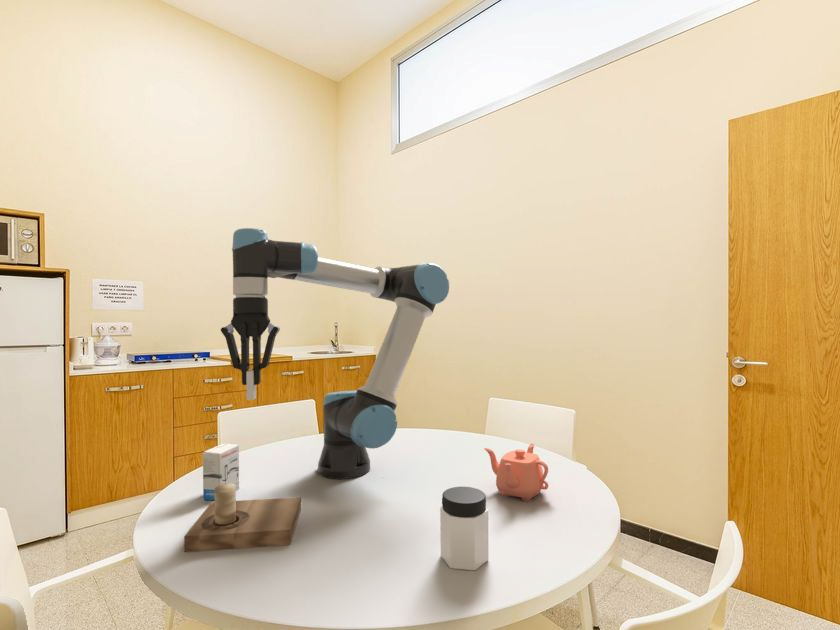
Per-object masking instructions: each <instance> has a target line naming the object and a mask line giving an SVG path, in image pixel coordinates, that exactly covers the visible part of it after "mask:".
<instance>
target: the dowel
mask: <svg viewBox="0 0 840 630" xmlns="http://www.w3.org/2000/svg"><path fill="white" fill-rule="evenodd" d="M236 491H237V490H236V485H235V484H231V483H228V484H222V485H219V486H217V487H215V500H214V502H215V526H227V525H231V524H234V523H235V522H236V501H237V497H236V496H237V495H236V494H237V493H236Z"/></svg>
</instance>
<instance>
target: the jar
mask: <svg viewBox="0 0 840 630" xmlns="http://www.w3.org/2000/svg"><path fill="white" fill-rule="evenodd" d="M486 496H487V495H486V493H485V492H484V491H482V490H480V489H479V488H476V487H472V486H455V487H450V488H447V489H446V490H444V491H443V492H442V496H441V497H442V498H441V504H442V505H441V506H440V508H439V512H440V518H439V519H440V525H439V526H440V533H439V535H440V557H441V558H442V559H443V561H444V562H445V563H446V565H448V567H449V568H450V569H457V570H466V571H476V570H477V569H479V568H480V567H482V565H484V564H485V563H486V562H488V560H489V559H490V558H489V510H488V509H487V507H486V506H487V504H486V503H487V497H486Z"/></svg>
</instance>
